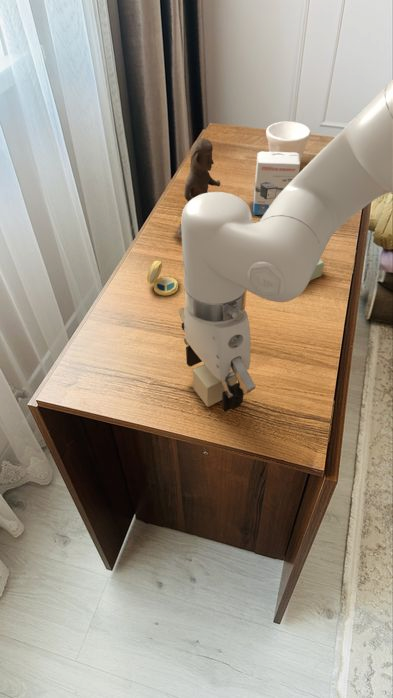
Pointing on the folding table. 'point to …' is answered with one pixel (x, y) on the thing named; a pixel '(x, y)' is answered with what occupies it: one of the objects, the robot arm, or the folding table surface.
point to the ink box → (273, 177)
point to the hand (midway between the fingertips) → (213, 383)
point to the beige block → (209, 385)
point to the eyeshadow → (161, 280)
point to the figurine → (199, 172)
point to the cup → (288, 137)
